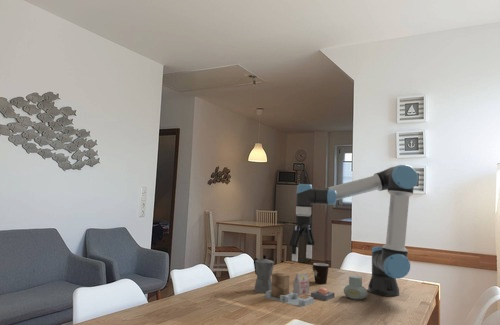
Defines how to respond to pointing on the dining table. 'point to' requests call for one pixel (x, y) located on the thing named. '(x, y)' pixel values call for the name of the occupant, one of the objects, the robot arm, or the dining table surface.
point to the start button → (322, 291)
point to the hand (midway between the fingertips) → (302, 259)
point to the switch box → (322, 295)
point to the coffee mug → (320, 273)
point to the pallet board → (291, 299)
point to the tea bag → (301, 284)
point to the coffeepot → (263, 274)
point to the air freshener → (355, 288)
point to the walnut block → (279, 285)
